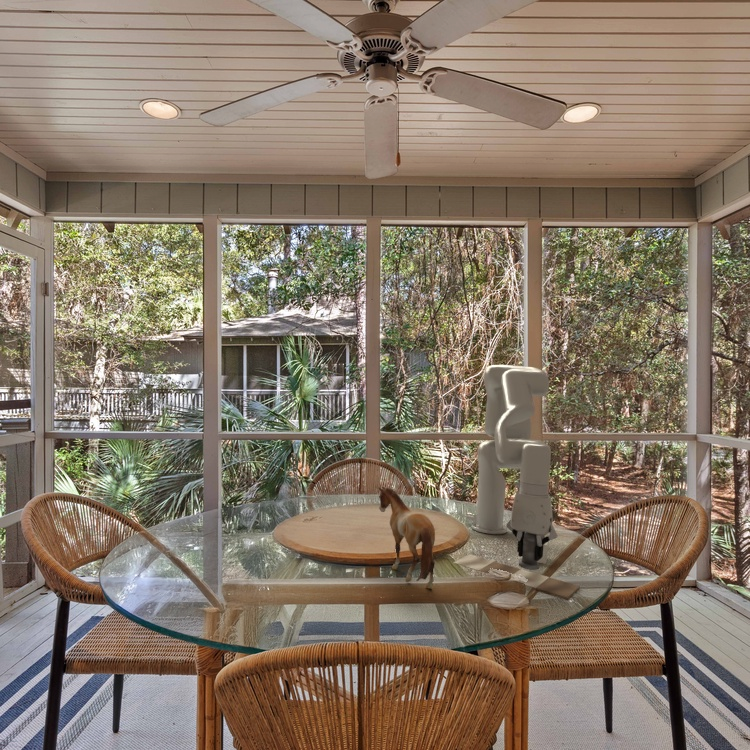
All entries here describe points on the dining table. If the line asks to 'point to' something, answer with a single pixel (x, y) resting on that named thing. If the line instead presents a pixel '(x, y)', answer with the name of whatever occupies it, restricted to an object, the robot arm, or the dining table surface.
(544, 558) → the die
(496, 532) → the robot arm
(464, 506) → the dining table surface
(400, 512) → the horse figurine
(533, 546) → the pawn
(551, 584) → the game board
